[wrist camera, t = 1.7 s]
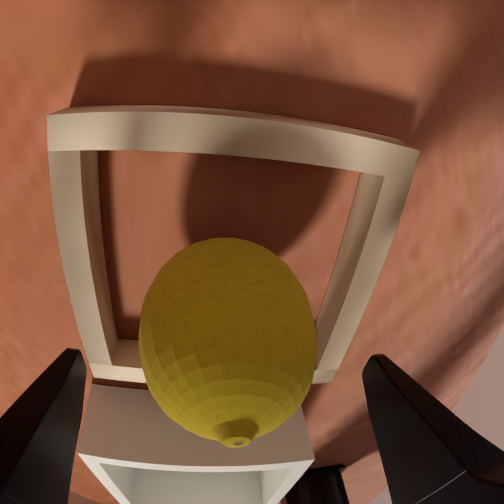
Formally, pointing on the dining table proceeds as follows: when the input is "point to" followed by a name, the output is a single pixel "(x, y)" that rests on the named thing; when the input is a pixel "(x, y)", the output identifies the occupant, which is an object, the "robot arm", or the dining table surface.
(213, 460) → the bin
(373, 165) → the rectangular frame
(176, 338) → the lemon
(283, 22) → the dining table surface
